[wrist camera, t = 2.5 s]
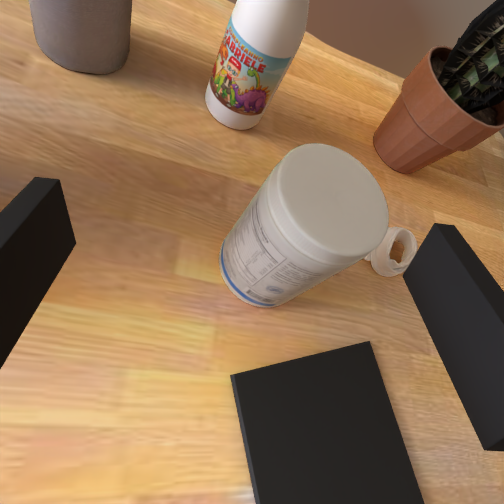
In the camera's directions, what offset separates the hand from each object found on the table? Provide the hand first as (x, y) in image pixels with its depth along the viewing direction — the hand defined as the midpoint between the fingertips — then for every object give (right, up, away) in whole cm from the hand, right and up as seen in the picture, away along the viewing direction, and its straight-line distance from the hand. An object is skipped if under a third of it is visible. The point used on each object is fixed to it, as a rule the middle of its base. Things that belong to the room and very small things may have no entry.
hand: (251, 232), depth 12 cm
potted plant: (+23, +15, +42) cm, 50 cm away
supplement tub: (+1, -2, +24) cm, 24 cm away
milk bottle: (-3, +18, +32) cm, 37 cm away
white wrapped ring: (+17, -1, +32) cm, 36 cm away
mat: (+8, -20, +19) cm, 29 cm away
